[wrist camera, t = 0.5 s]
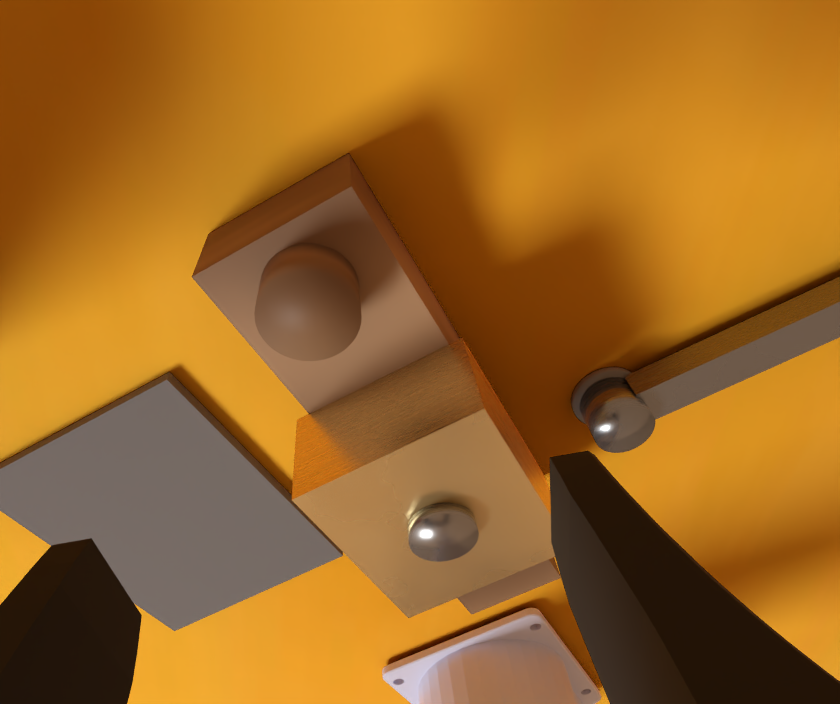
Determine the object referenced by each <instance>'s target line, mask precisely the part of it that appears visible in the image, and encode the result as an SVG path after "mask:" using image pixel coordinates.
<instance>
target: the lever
mask: <svg viewBox="0 0 840 704" xmlns="http://www.w3.org/2000/svg"><path fill="white" fill-rule="evenodd" d="M839 337H840V277H838V278H835V279H833V280H831V281H829V282H827V283H825V284H823V285H820V286H818V287H816V288H814V289H812V290H810V291H807V292H805V293H803V294H801V295H799V296H797V297H795V298H792V299H790V300H788V301H786V302H784V303H782V304H779V305H777V306H775V307H773V308H771V309H769V310H767V311H764V312H762V313H760V314H758V315H756V316H754V317H751V318H749V319H747V320H745V321H743V322H741V323H739V324H736V325H734V326H732V327H730V328H728V329H726V330H723V331H721V332H719V333H717V334H715V335H713V336H711V337H708V338H706V339H704V340H702V341H700V342H698V343H695V344H693V345H691V346H689V347H687V348H685V349H682V350H680V351H678V352H676V353H674V354H672V355H670V356H667V357H665V358H663V359H661V360H659V361H657V362H654V363H652V364H650V365H648V366H646V367H644V368H642V369H639V370H637V371H635V372H633V373H631V374H629V375H626V376H624V377H625V378H620V377H610V378H606V379H602V380H600V381H598V382H596V383H594V384H593V385H591V386H590V387H589V388H588V389H587V390H586V391H585V392H584V394H583V395H582V397H581V400H580V405H579V406H580V412H581V414H582V416H583V418H584V420H585V422H586V424H587V426H588V428H589V430H590V432H591V434H592V436H593V438H594V440H595V442H596V443H597V445H598V446H599V447H600V448H601V449H603V450H605V451H608V452H613V453H619V452H626V451H629V450H632V449H634V448H636V447H638V446H640V445H641V444H642V443H644V442H645V441H646V440H647V439H648V438H649V437H650V435H651V434H652V432H653V430H654V427H655V420H656V419H658V418H660V417H662V416H664V415H667V414H669V413H671V412H673V411H676V410H678V409H680V408H682V407H685V406H687V405H689V404H691V403H694V402H696V401H698V400H700V399H702V398H705V397H707V396H709V395H711V394H714V393H716V392H718V391H720V390H723V389H725V388H727V387H729V386H732V385H734V384H736V383H738V382H741V381H743V380H745V379H747V378H749V377H752V376H754V375H756V374H758V373H761V372H763V371H765V370H767V369H770V368H772V367H774V366H776V365H779V364H781V363H783V362H785V361H788V360H790V359H792V358H794V357H796V356H799V355H801V354H803V353H805V352H808V351H810V350H812V349H814V348H817V347H819V346H821V345H823V344H826V343H828V342H830V341H832V340H834V339H837V338H839Z"/></svg>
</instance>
